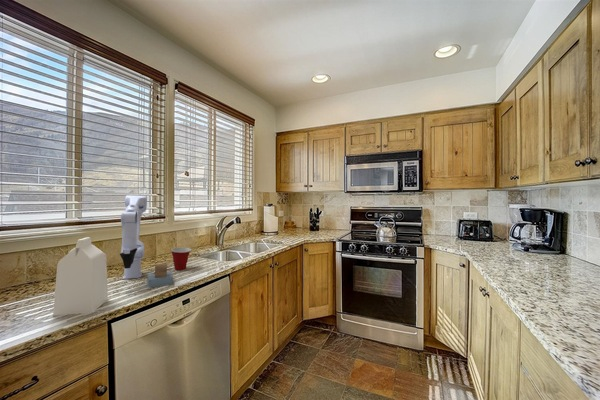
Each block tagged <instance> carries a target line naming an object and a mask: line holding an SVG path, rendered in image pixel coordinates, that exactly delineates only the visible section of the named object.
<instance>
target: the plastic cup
mask: <svg viewBox="0 0 600 400" xmlns="http://www.w3.org/2000/svg"><path fill="white" fill-rule="evenodd" d="M170 251H171V254H172V261H173V268H174V271H184V270H186V268H187V263H188V261H189V255H190V253H191V251H192V249H191V248H190V247H183V246H182V247H181V246H180V247H178V246H177V247H173V248H171V249H170Z"/></svg>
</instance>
